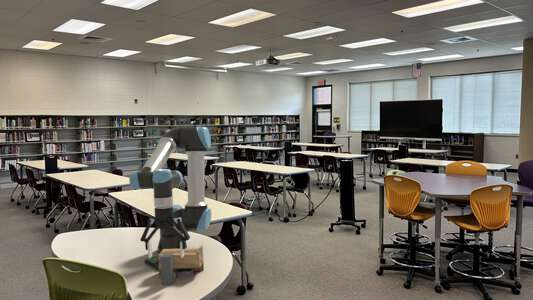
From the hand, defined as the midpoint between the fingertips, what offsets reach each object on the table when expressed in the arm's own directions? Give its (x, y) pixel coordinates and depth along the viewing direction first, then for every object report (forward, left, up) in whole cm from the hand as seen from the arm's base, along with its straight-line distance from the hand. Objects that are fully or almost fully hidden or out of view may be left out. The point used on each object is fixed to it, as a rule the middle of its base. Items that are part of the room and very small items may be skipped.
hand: (166, 257), depth 162 cm
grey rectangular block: (-5, 0, -11) cm, 12 cm away
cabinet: (-10, +4, -11) cm, 15 cm away
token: (-9, +6, -12) cm, 16 cm away
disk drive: (-22, -9, -12) cm, 27 cm away
